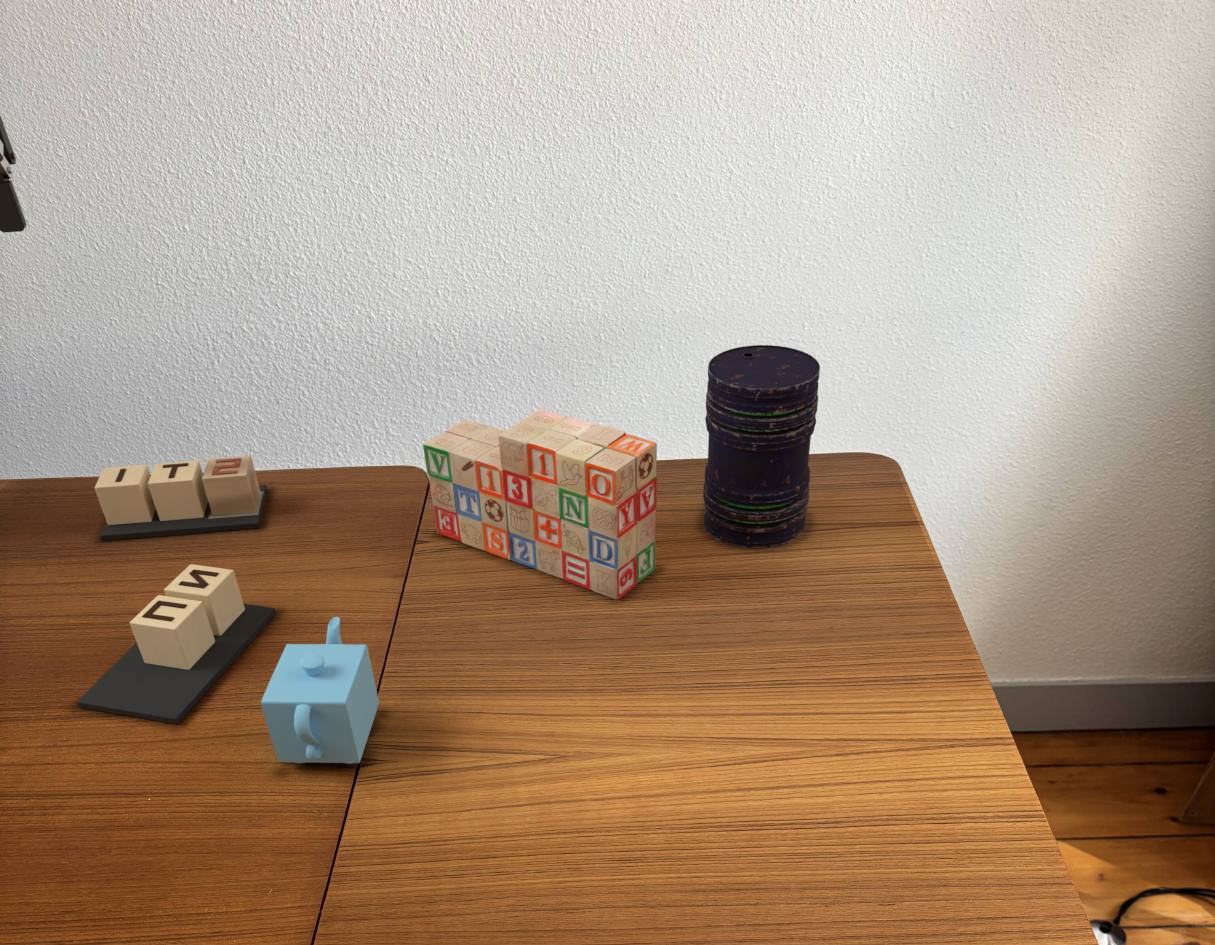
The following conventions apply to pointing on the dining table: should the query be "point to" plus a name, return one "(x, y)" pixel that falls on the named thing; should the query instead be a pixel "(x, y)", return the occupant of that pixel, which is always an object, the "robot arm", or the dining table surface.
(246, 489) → the tile
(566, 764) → the dining table surface
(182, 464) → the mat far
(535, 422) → the stack of blocks
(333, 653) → the teapot
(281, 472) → the dining table surface
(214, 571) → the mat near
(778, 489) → the storage jar
